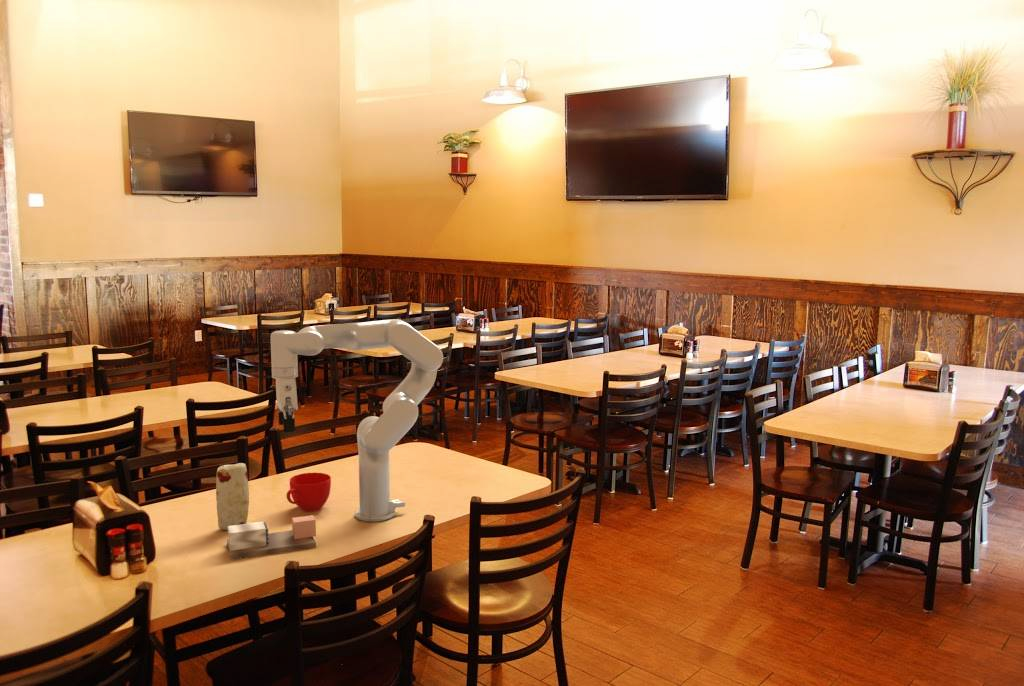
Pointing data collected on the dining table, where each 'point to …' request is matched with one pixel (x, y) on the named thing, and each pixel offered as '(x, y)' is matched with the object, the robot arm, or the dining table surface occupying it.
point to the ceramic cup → (309, 490)
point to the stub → (304, 527)
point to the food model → (232, 495)
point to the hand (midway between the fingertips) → (286, 428)
